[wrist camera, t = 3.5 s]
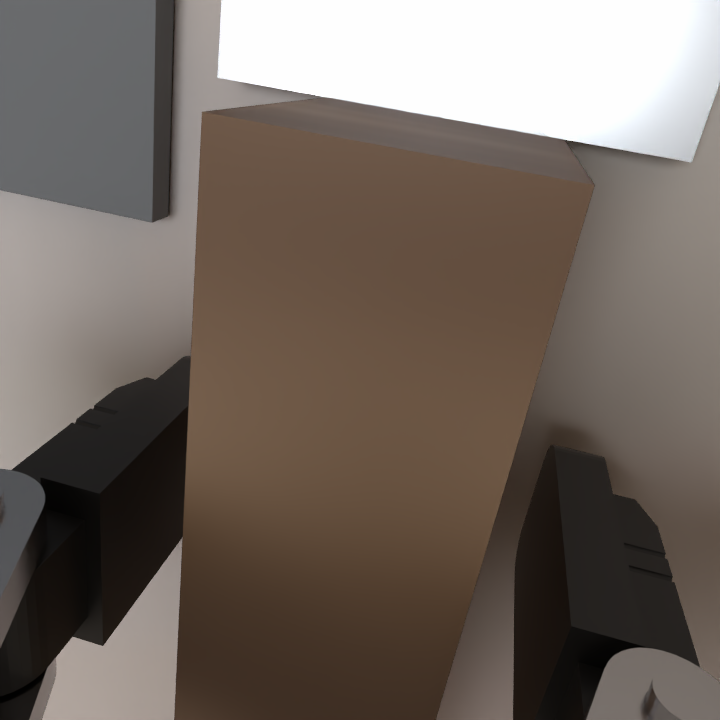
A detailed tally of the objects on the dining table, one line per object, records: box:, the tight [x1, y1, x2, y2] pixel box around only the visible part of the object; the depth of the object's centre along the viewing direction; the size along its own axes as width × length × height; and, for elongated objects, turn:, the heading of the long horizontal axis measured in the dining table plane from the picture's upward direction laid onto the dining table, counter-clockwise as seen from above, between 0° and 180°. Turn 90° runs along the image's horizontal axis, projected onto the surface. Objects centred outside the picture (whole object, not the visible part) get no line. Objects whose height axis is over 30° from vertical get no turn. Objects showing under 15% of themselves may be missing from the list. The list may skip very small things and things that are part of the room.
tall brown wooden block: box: [174, 0, 720, 720], centre depth 8 cm, size 19×6×4 cm, turn 171°
